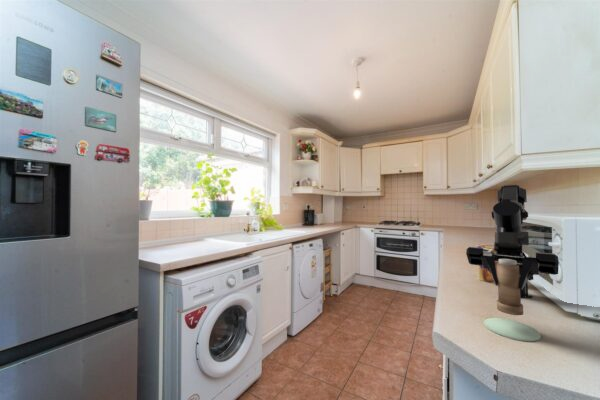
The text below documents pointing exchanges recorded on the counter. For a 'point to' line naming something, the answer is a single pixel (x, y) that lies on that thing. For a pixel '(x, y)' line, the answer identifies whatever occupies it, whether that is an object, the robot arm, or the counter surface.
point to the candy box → (483, 272)
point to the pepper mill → (509, 287)
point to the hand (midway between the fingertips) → (508, 286)
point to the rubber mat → (512, 329)
